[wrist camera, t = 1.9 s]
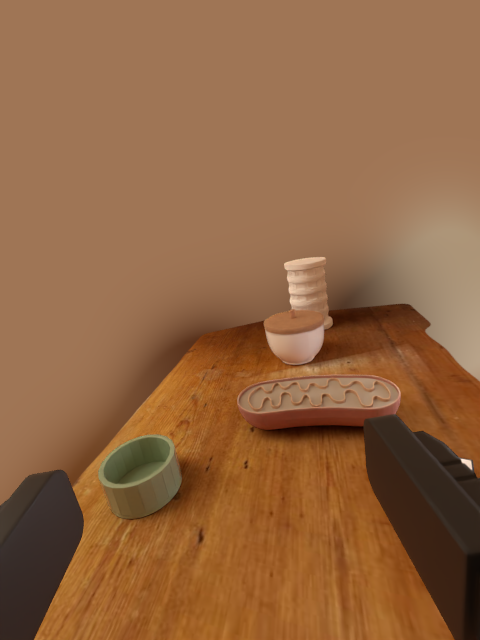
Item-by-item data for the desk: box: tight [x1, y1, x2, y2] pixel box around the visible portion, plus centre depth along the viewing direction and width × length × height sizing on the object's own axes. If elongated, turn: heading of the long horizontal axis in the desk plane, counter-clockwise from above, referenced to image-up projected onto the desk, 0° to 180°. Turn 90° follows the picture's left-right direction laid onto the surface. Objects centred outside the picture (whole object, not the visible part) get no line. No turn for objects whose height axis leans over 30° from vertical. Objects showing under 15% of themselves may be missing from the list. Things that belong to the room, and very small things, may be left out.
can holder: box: [98, 434, 182, 519], centre depth 40 cm, size 9×9×4 cm
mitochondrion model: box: [237, 375, 401, 430], centre depth 47 cm, size 23×10×5 cm, turn 80°
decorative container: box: [284, 257, 333, 330], centre depth 86 cm, size 12×12×18 cm
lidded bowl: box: [264, 309, 324, 365], centre depth 69 cm, size 13×13×11 cm
